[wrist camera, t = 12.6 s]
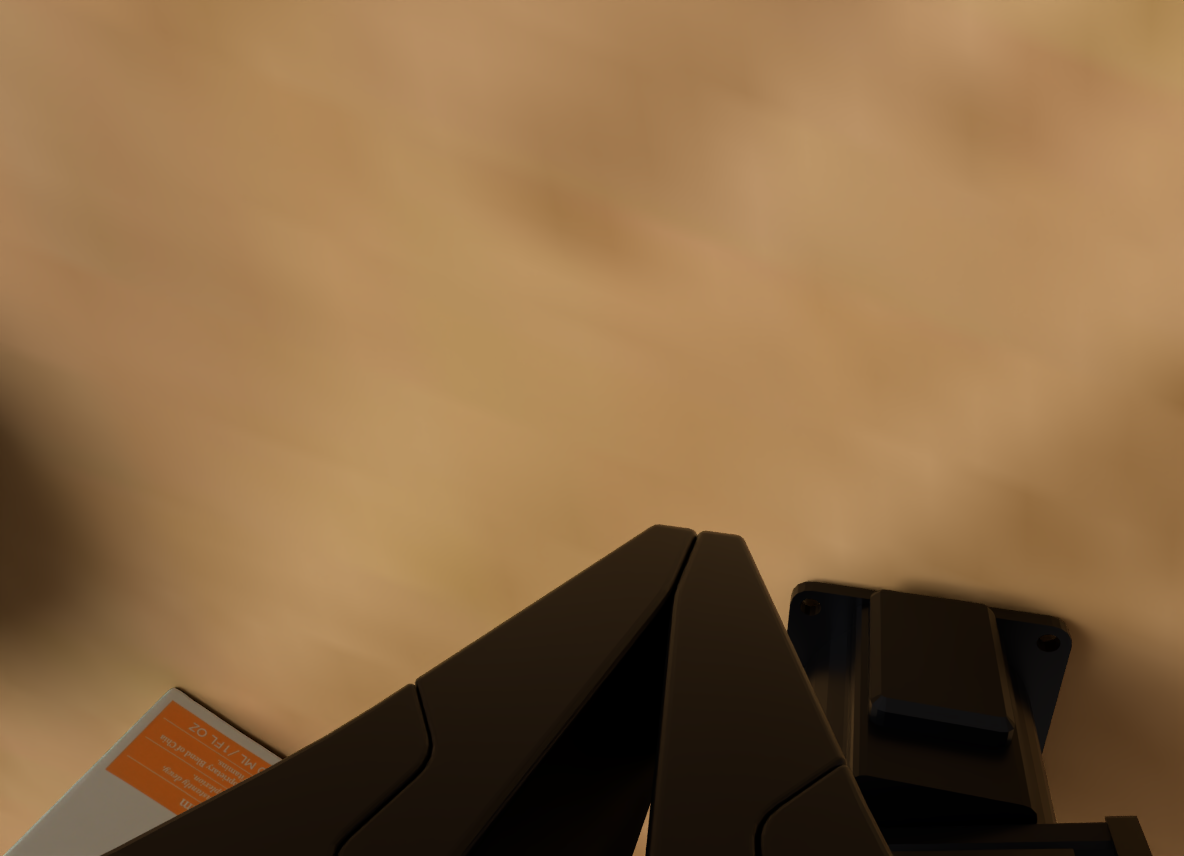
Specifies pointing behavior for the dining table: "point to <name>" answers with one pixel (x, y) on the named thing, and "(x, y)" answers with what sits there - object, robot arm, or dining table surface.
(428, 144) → the dining table surface
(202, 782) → the skincare box
